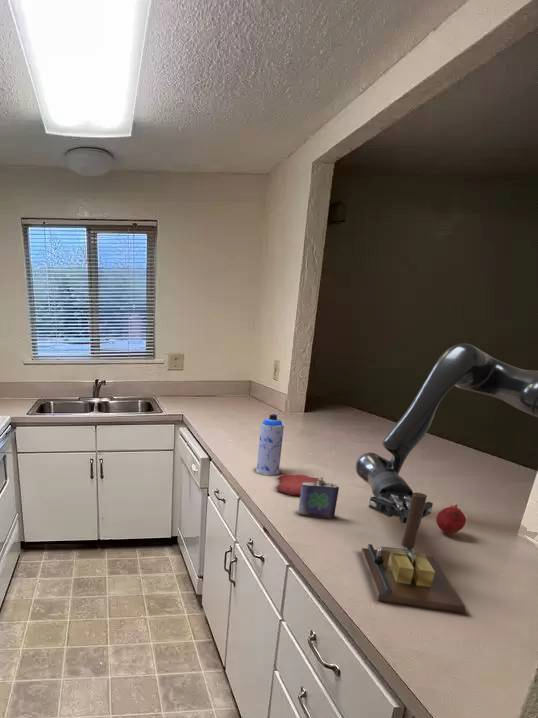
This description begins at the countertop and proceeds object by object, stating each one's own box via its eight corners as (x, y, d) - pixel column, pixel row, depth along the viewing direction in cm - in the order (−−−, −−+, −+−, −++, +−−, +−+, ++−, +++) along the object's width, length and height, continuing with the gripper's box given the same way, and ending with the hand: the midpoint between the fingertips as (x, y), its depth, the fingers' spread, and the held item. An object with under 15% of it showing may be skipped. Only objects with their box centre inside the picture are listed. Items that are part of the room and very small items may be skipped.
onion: (463, 541, 103) (472, 510, 101) (435, 536, 106) (443, 506, 103) (458, 530, 108) (466, 501, 105) (431, 526, 111) (438, 497, 108)
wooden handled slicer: (408, 561, 92) (424, 493, 86) (416, 575, 87) (434, 504, 81) (369, 556, 94) (382, 489, 89) (374, 570, 89) (389, 500, 83)
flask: (298, 515, 118) (303, 478, 114) (297, 510, 120) (302, 474, 117) (334, 518, 116) (341, 481, 112) (333, 514, 118) (339, 477, 114)
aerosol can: (280, 475, 147) (287, 417, 140) (257, 474, 148) (262, 417, 141) (277, 467, 154) (283, 412, 147) (255, 466, 155) (260, 412, 148)
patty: (279, 475, 147) (280, 470, 146) (323, 480, 142) (324, 475, 141) (274, 494, 132) (275, 488, 131) (324, 500, 127) (325, 494, 126)
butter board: (431, 562, 95) (436, 542, 93) (463, 613, 79) (470, 590, 77) (360, 553, 99) (364, 534, 97) (377, 600, 83) (382, 578, 81)
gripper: (363, 474, 105) (378, 502, 90) (425, 479, 101) (452, 509, 86) (358, 502, 108) (372, 534, 92) (418, 508, 104) (444, 542, 89)
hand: (411, 522), depth 89 cm, fingers closed
